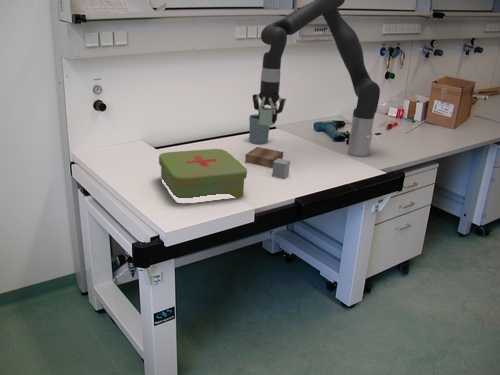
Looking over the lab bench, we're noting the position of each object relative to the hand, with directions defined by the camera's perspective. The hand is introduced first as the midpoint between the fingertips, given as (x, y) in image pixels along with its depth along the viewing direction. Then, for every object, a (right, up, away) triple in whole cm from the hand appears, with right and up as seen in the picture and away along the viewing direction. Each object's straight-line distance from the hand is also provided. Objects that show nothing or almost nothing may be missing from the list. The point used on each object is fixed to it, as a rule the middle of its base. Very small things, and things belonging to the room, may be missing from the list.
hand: (267, 121), depth 199 cm
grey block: (+5, -22, -8) cm, 24 cm away
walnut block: (-1, -16, +7) cm, 18 cm away
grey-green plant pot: (-3, -5, +32) cm, 32 cm away
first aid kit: (-24, -27, -24) cm, 44 cm away
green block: (0, -1, 0) cm, 1 cm away
